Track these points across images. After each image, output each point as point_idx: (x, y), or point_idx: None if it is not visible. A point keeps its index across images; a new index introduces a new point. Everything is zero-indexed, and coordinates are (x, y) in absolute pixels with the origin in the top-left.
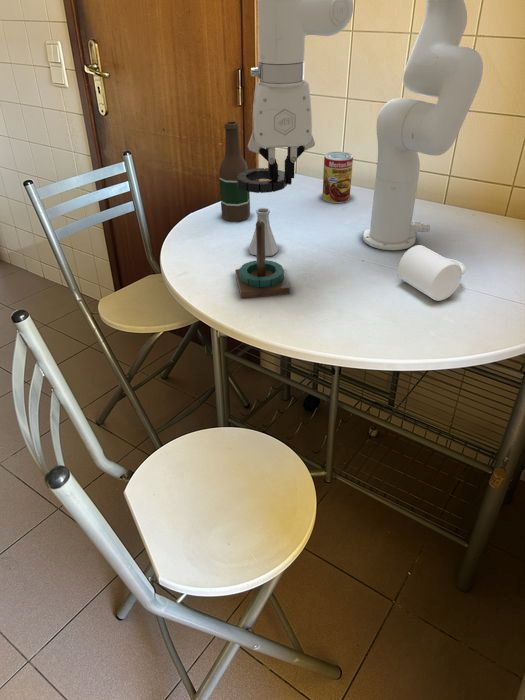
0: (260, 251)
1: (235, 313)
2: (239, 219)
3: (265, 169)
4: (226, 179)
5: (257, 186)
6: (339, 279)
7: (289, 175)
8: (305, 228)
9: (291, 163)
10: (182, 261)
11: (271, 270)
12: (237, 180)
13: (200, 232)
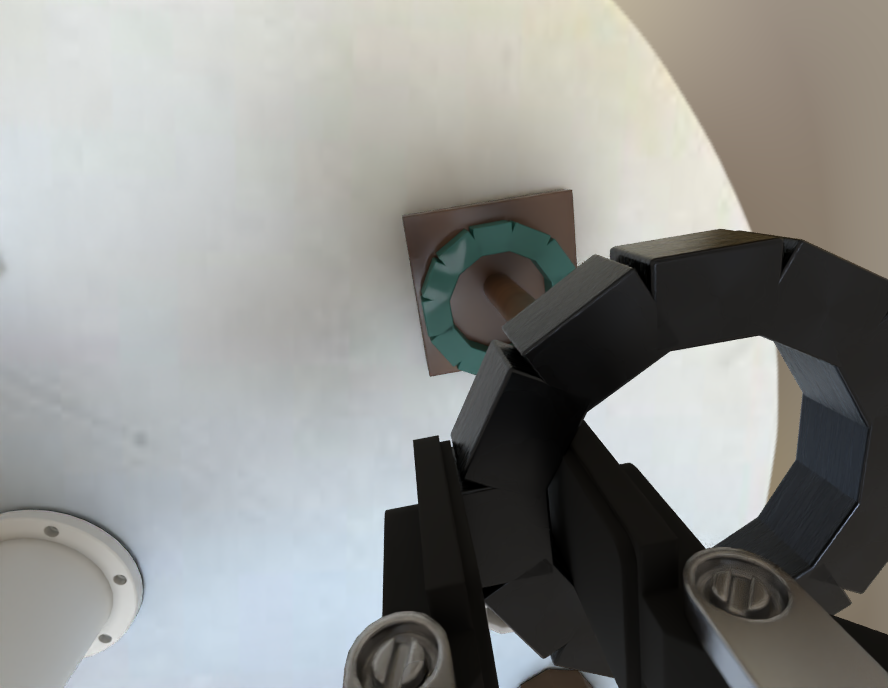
0: (528, 297)
1: (588, 87)
2: (547, 676)
3: None
4: None
5: (795, 239)
6: (223, 312)
7: (440, 482)
8: (340, 641)
9: (429, 585)
10: (728, 431)
11: (462, 334)
12: None
13: None
